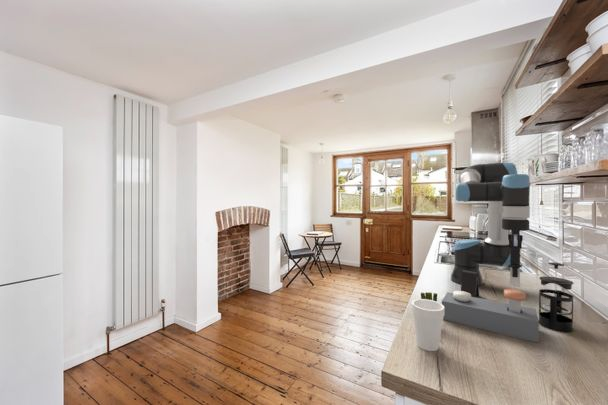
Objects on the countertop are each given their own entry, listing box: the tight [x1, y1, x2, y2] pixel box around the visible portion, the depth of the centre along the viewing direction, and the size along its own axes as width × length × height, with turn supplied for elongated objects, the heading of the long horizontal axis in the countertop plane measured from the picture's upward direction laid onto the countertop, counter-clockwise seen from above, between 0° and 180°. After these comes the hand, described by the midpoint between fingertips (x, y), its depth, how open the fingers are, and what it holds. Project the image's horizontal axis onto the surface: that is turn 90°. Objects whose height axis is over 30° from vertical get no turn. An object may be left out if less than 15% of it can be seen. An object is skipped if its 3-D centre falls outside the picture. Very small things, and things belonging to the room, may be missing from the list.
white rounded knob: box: [452, 290, 471, 302], centre depth 103 cm, size 6×6×8 cm
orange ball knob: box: [503, 288, 527, 313], centre depth 93 cm, size 6×6×8 cm
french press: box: [538, 261, 575, 334], centre depth 96 cm, size 12×9×23 cm
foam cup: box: [411, 298, 445, 352], centre depth 84 cm, size 10×9×13 cm
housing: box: [441, 291, 540, 344], centre depth 98 cm, size 12×28×7 cm, turn 52°
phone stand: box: [460, 270, 481, 298], centre depth 125 cm, size 9×6×12 cm, turn 134°
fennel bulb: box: [420, 292, 438, 302], centre depth 97 cm, size 6×5×12 cm
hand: (514, 285), depth 93 cm, fingers closed
